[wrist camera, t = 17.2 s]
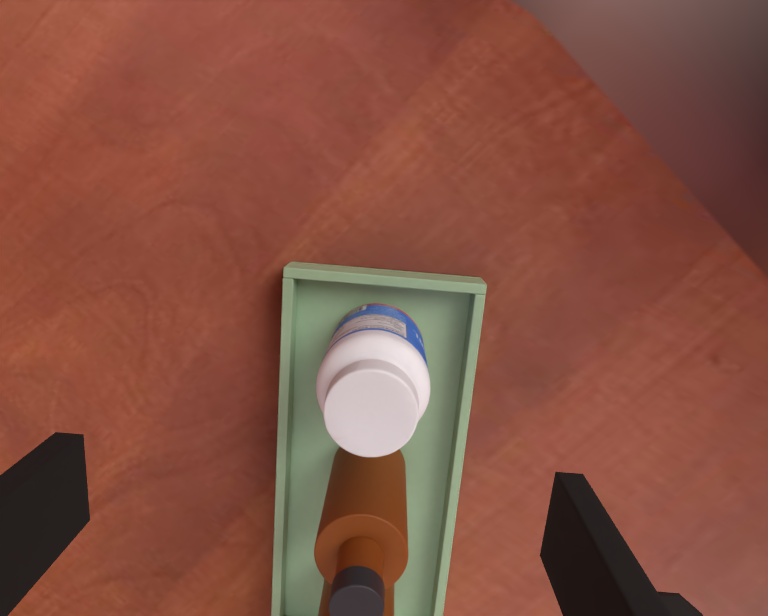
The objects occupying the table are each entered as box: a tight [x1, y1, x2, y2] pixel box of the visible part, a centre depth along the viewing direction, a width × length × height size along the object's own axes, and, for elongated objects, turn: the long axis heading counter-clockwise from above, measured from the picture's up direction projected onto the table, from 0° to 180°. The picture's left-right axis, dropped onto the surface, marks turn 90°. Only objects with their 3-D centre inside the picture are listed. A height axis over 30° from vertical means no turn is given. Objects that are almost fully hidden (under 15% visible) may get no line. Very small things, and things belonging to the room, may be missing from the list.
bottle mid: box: [314, 447, 408, 616], centre depth 28 cm, size 5×5×11 cm
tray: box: [271, 261, 487, 616], centre depth 32 cm, size 25×11×2 cm, turn 175°
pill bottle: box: [316, 303, 430, 457], centre depth 26 cm, size 6×5×10 cm
